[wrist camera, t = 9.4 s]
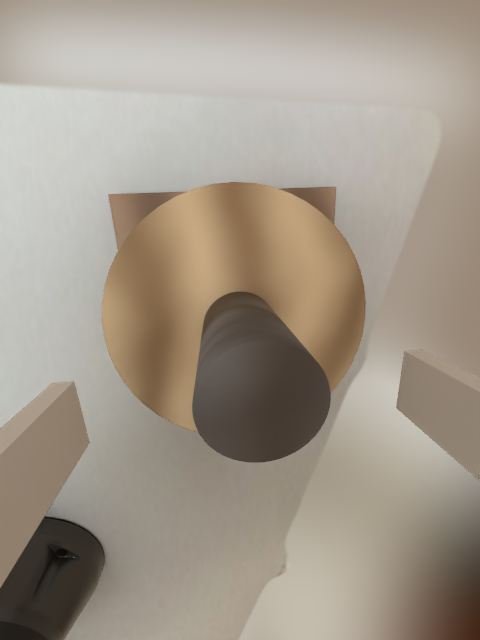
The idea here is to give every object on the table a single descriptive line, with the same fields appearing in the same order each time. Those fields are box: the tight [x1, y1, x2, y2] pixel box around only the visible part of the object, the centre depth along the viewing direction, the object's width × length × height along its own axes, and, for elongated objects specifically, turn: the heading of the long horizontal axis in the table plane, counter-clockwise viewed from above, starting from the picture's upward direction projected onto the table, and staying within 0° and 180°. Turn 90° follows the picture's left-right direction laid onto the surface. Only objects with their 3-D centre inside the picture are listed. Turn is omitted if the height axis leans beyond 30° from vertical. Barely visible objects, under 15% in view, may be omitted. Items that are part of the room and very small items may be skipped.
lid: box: [102, 182, 365, 462], centre depth 14 cm, size 18×18×10 cm
